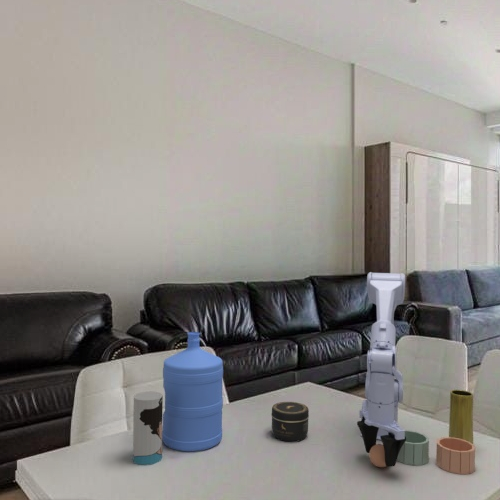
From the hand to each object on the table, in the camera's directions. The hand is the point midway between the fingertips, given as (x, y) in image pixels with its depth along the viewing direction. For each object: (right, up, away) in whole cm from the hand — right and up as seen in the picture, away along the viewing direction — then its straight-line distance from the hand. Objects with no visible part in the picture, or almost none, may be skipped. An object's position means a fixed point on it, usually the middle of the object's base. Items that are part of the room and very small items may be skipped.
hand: (380, 458), depth 111 cm
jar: (-20, -2, +17) cm, 26 cm away
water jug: (-45, -1, +14) cm, 47 cm away
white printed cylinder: (-55, -1, +2) cm, 55 cm away
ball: (0, +1, 0) cm, 1 cm away
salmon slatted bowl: (+18, -2, +1) cm, 18 cm away
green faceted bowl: (+9, -2, +5) cm, 10 cm away
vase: (+23, -2, +10) cm, 26 cm away
